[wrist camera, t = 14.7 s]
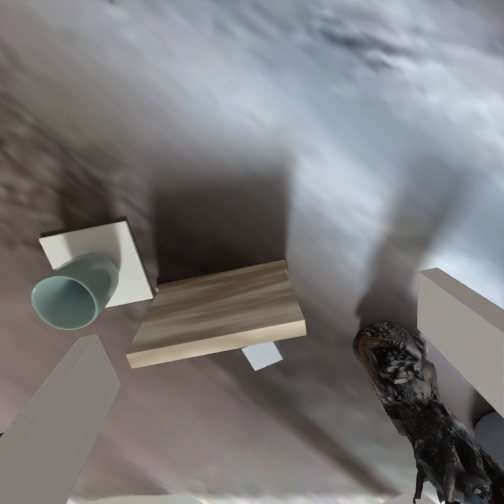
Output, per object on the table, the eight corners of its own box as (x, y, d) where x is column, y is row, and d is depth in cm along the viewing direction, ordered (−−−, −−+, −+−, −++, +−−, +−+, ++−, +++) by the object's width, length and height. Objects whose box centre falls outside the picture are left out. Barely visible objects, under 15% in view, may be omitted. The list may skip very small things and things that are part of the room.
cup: (63, 255, 44) (16, 287, 34) (110, 239, 43) (76, 266, 34) (89, 298, 47) (53, 338, 37) (134, 283, 46) (109, 320, 37)
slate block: (241, 329, 51) (241, 349, 46) (266, 318, 51) (270, 336, 46) (253, 350, 53) (255, 370, 48) (278, 339, 52) (282, 359, 48)
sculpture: (413, 299, 51) (631, 495, 23) (421, 364, 56) (605, 587, 28) (333, 322, 51) (448, 539, 24) (348, 384, 57) (457, 620, 29)
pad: (41, 237, 43) (38, 238, 43) (126, 220, 43) (125, 221, 42) (76, 311, 48) (75, 313, 47) (154, 296, 48) (153, 298, 47)
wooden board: (157, 284, 47) (121, 352, 32) (284, 259, 47) (307, 316, 32) (162, 299, 48) (129, 371, 33) (287, 275, 48) (310, 336, 33)
